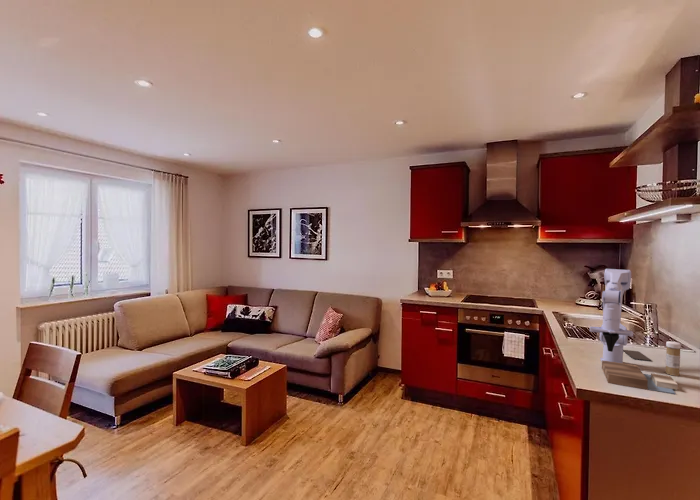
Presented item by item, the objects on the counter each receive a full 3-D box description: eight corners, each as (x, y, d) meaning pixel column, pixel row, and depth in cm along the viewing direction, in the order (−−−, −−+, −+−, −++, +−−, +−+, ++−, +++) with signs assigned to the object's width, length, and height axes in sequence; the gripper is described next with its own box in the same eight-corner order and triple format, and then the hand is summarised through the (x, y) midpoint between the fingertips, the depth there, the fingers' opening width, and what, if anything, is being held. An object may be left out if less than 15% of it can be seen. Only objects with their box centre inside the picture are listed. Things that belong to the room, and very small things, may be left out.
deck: (601, 368, 153) (602, 360, 153) (636, 373, 148) (636, 365, 147) (608, 382, 138) (608, 374, 138) (647, 389, 132) (647, 380, 132)
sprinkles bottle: (677, 373, 148) (678, 341, 148) (681, 377, 144) (683, 344, 144) (663, 371, 150) (664, 340, 150) (667, 375, 146) (668, 343, 146)
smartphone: (621, 351, 179) (633, 360, 165) (621, 349, 179) (633, 358, 165) (639, 352, 176) (652, 362, 162) (639, 351, 176) (653, 360, 162)
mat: (637, 373, 147) (637, 372, 147) (661, 377, 144) (661, 376, 144) (648, 389, 132) (648, 388, 132) (675, 394, 128) (675, 393, 128)
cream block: (670, 376, 139) (670, 381, 139) (650, 373, 142) (650, 378, 142) (677, 384, 131) (677, 389, 131) (656, 381, 134) (656, 386, 134)
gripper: (591, 318, 147) (590, 350, 148) (635, 322, 140) (633, 356, 141) (589, 315, 153) (588, 346, 154) (631, 319, 146) (630, 351, 147)
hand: (610, 350), depth 148 cm, fingers closed
